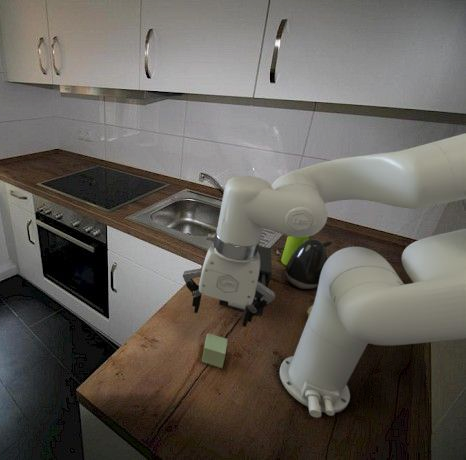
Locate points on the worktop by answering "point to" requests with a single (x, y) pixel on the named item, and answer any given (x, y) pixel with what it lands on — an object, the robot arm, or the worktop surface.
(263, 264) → the black drawer box
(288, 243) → the soap dispenser
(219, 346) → the block
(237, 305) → the black drawer with handle
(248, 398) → the worktop surface
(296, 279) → the black rounded piece
